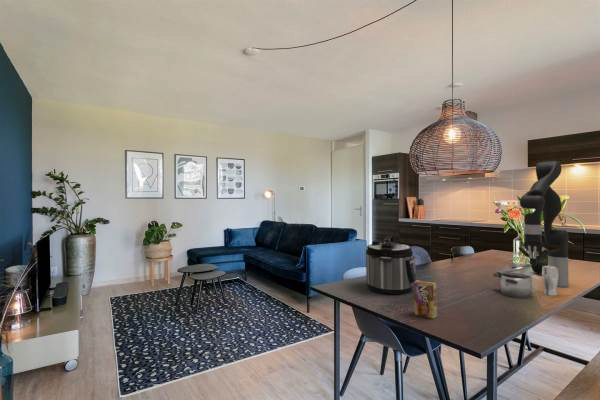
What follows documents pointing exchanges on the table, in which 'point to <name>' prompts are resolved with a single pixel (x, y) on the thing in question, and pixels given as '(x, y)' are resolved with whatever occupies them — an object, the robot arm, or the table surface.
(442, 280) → the table surface
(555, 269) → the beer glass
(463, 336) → the table surface
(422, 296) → the candy box
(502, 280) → the pot
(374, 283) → the pressure cooker
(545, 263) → the squash
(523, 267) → the lid
